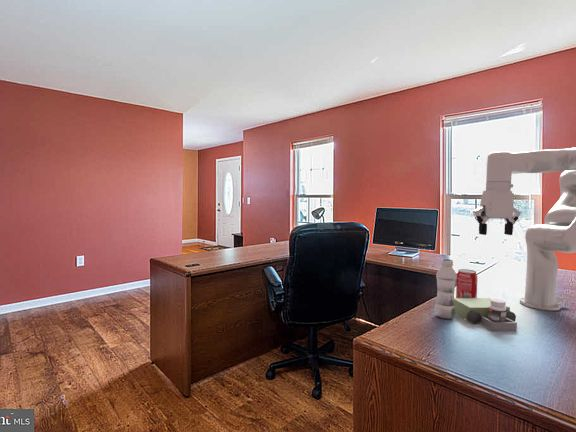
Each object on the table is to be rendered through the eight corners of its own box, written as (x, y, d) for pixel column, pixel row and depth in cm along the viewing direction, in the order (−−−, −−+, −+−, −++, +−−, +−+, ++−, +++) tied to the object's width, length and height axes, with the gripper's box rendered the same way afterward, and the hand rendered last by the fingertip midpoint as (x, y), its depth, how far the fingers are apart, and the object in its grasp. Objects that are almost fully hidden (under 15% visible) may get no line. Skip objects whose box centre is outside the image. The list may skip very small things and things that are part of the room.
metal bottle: (453, 315, 115) (456, 259, 113) (456, 322, 108) (459, 262, 107) (433, 312, 117) (435, 257, 115) (435, 319, 110) (437, 261, 109)
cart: (488, 309, 121) (489, 296, 120) (528, 330, 102) (529, 314, 102) (446, 310, 120) (447, 296, 119) (480, 331, 101) (481, 315, 101)
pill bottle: (484, 324, 107) (485, 299, 106) (494, 322, 109) (495, 297, 108) (498, 329, 102) (500, 303, 102) (508, 327, 104) (510, 301, 104)
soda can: (479, 307, 124) (480, 273, 123) (458, 305, 125) (460, 272, 124) (472, 301, 131) (474, 269, 130) (453, 300, 132) (454, 268, 131)
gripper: (513, 187, 121) (510, 233, 122) (468, 186, 120) (466, 233, 121) (529, 187, 113) (526, 236, 114) (481, 186, 112) (479, 235, 113)
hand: (495, 234), depth 118 cm, fingers open, 9 cm apart
